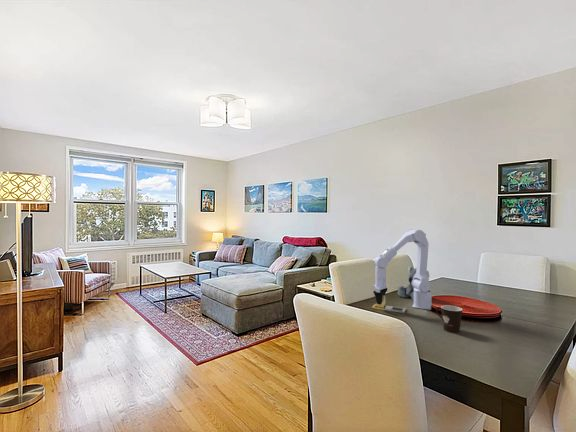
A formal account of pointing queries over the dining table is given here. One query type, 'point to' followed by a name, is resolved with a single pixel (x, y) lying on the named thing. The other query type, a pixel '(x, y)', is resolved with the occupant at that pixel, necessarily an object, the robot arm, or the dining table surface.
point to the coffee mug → (451, 318)
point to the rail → (390, 308)
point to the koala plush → (410, 289)
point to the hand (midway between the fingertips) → (380, 302)
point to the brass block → (381, 303)
